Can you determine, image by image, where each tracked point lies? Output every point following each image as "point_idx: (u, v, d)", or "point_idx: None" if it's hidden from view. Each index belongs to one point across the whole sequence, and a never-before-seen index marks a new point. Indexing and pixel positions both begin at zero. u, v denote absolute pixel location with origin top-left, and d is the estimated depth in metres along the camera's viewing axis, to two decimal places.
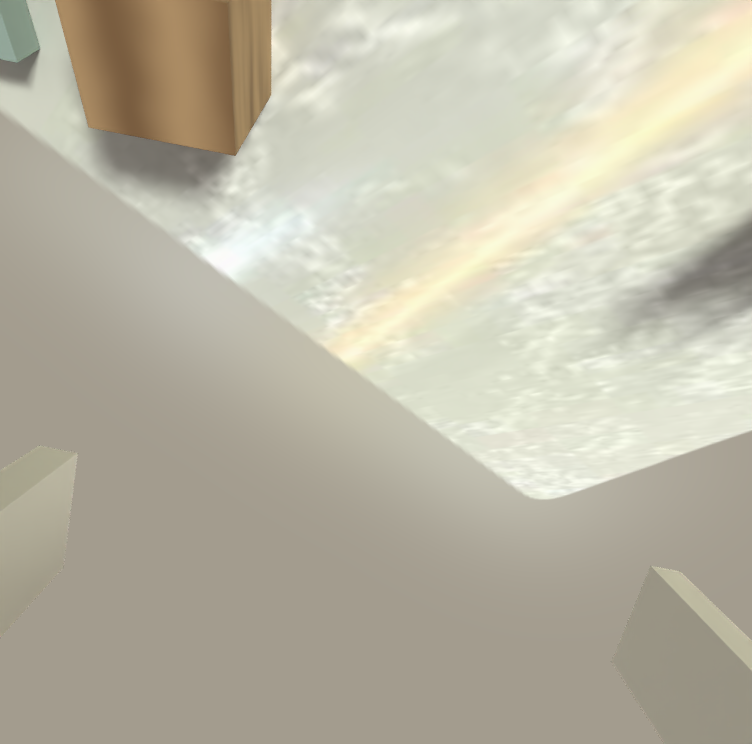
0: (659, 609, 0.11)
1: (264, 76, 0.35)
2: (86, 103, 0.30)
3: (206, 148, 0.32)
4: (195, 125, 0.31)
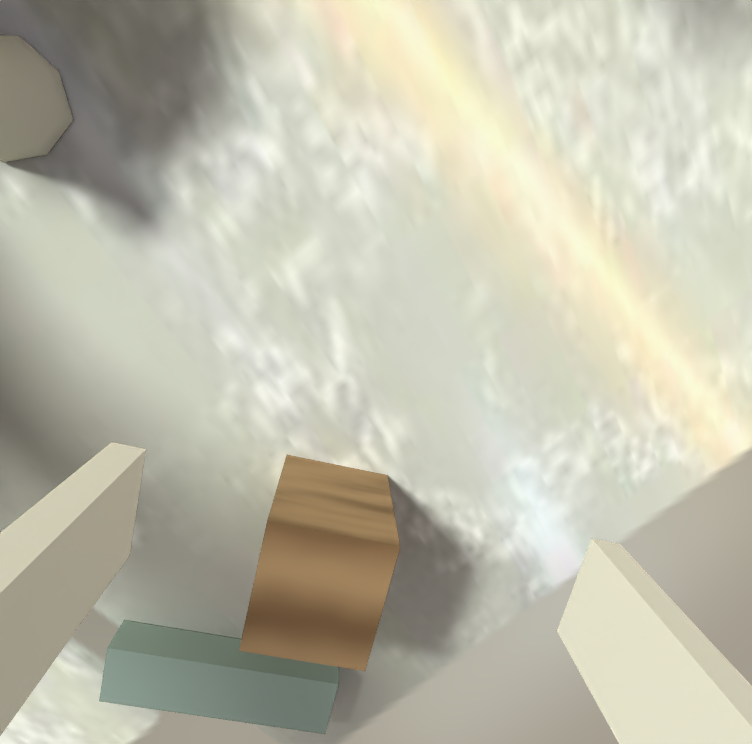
0: (597, 578, 0.12)
1: (363, 482, 0.38)
2: (343, 664, 0.32)
3: (391, 572, 0.31)
4: (367, 576, 0.31)
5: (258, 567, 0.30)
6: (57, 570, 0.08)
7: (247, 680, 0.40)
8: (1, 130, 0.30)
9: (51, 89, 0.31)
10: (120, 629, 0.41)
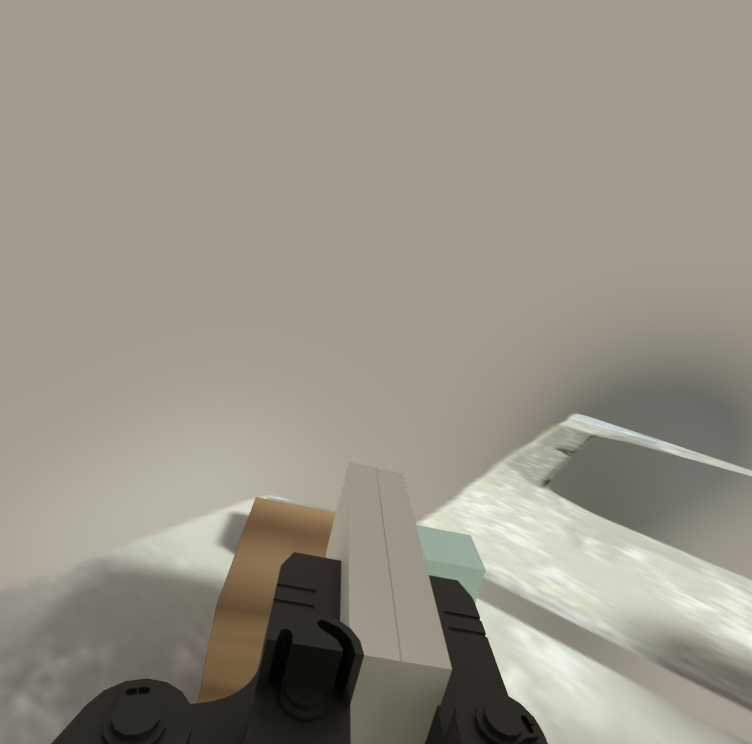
0: None
1: None
2: (280, 503, 0.29)
3: (228, 577, 0.22)
4: (262, 574, 0.23)
5: None
6: None
7: None
8: None
9: None
10: (476, 591, 0.40)
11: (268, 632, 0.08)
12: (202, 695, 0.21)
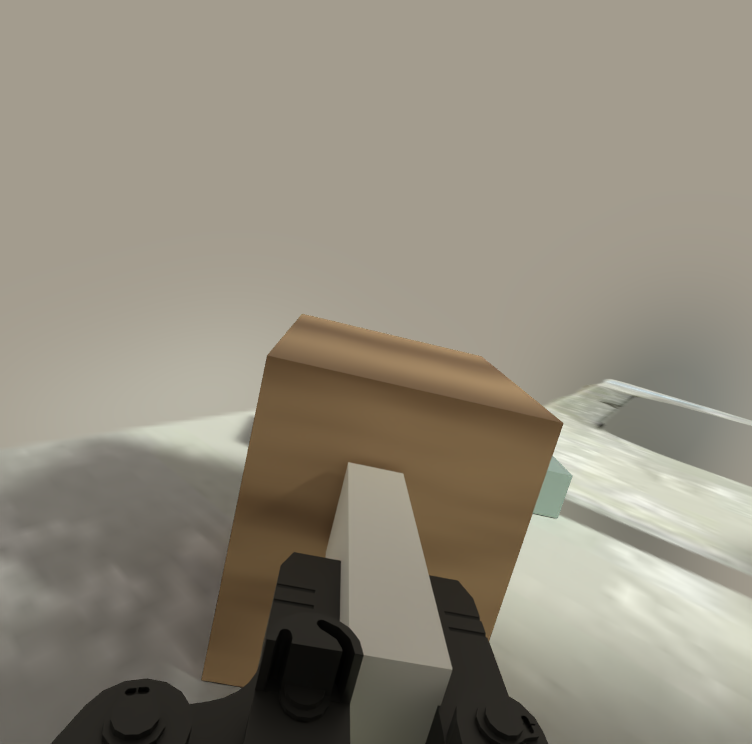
0: None
1: None
2: (335, 322, 0.21)
3: (280, 343, 0.15)
4: (327, 351, 0.15)
5: (523, 392, 0.17)
6: None
7: None
8: None
9: None
10: (560, 503, 0.32)
11: (268, 632, 0.08)
12: (240, 510, 0.14)
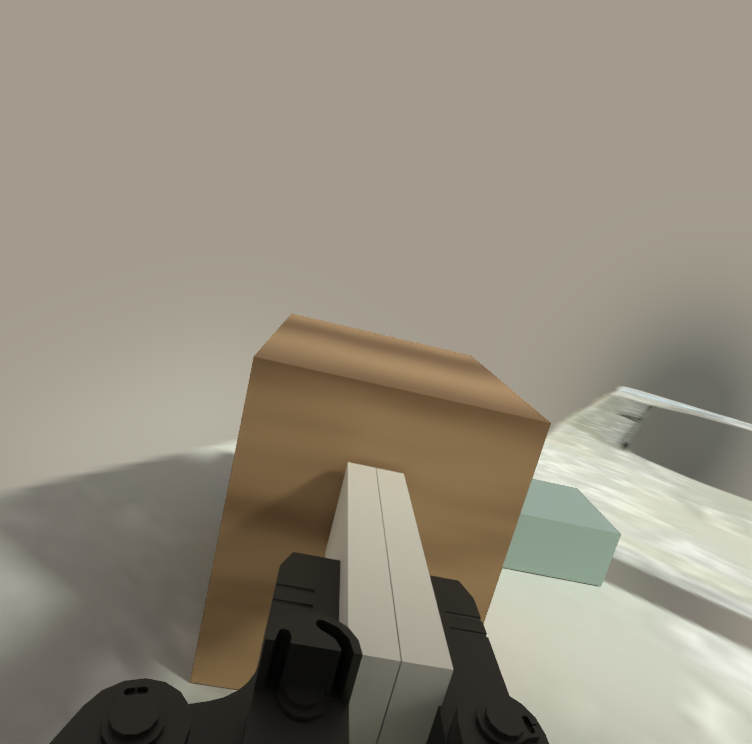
0: None
1: None
2: (325, 322, 0.21)
3: (268, 345, 0.15)
4: (315, 351, 0.15)
5: (512, 391, 0.17)
6: None
7: None
8: None
9: None
10: (605, 568, 0.26)
11: (267, 632, 0.08)
12: (228, 512, 0.14)
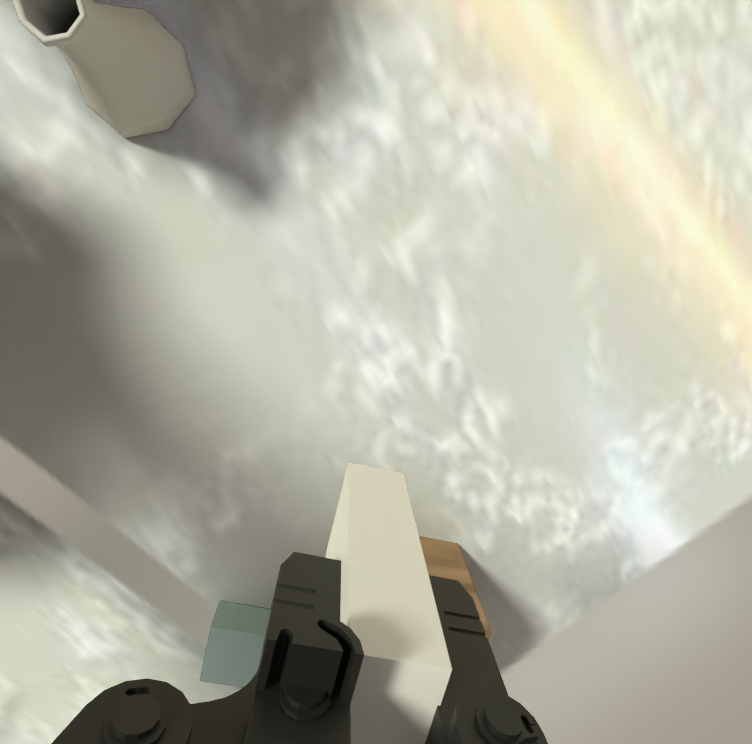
0: None
1: (439, 554, 0.39)
2: None
3: None
4: None
5: None
6: None
7: None
8: (135, 103, 0.30)
9: (178, 62, 0.31)
10: (218, 609, 0.41)
11: (268, 632, 0.08)
12: (472, 587, 0.36)
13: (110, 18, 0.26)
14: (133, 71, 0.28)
